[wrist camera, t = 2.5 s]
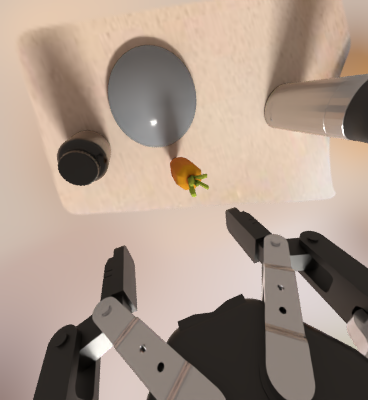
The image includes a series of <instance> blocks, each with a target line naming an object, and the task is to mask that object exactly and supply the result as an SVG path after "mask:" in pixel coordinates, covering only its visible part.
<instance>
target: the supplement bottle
mask: <svg viewBox="0 0 368 400" xmlns="http://www.w3.org/2000/svg"><path fill="white" fill-rule="evenodd" d="M110 155H111V149H110V145H109V143H108V141H107V140H106V139H105V138H104V137H103V136H102V135H101V134H99V133H97V132H94V131H89V130H85V131H81V132H78V133H76V134H75V135H74V136H72V137H71V138H69V139H68V140H67V141H65V142H64V143H63V144H62V145H61V146H60V148H59V150H58V153H57V161H58V170H59V173H60V174H61V176H62V177H63V178H64V179H65V180H66V181H68V182H69V183H72V184H73V185H80V186H82V185H84V186H85V185H89V184H91V183H92V182H94V181H97V180H99V179H100V178H102V177H103V176H104V175H105V173H106V171H107V169H108V165H109V160H110Z"/></svg>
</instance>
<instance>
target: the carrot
mask: <svg viewBox="0 0 368 400" xmlns="http://www.w3.org/2000/svg"><path fill="white" fill-rule="evenodd" d="M170 167H171V174H172V177H173V179H174V181H175V182H176V184H177V185H179V186H180V187H182V188H183V189H185V190H188V189H189V191H190V193H191V196H192V197H195V196H196V192H195V189H194V188H196V186H199V185H201V186H202V187H204V188H205V189H209V186H208V185H206V184H204V183H202V182H201V179H204V178H207V174H203V175H201V170H200V169H199V168H198V167H197V166H196V165H194V164H193V163H192V162H191V161H189V160H188V159H186V158H183V157H178V158H174V159H173V160H172V161H171V163H170Z"/></svg>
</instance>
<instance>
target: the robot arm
mask: <svg viewBox="0 0 368 400" xmlns="http://www.w3.org/2000/svg"><path fill="white" fill-rule="evenodd" d="M265 119H266V122H267V124H268V125H269V126H271V127H273V128H278V129H284V130H290V131H296V132H302V133H309V134H315V135H321V136H328V137H335V138H341V139H347V140H353V141H360V142H365V143H368V74H363V75H355V76H347V77H338V78H330V79H321V80H313V81H304V82H295V83H287V84H282V85H280V86H278V87H277V88H276V89H275V90H274V91H273V92H272V93H271V95H270V96H269V98H268V100H267V102H266V106H265ZM226 224H227V228H228V231H229V232H230V234H231V235H232V236H233V237H234V239H235V240H236V241H237V242H238V244H239V245H240V246H241V247H242V248H243V250H244V251H245V252H246V253H247V255H248V256H249V257H250V258H251V260H252V261H253V262H254V263H257V262H259V261H260V262H261V263H262V295H261V300H257V299H245V298H244V296H243V295H242V294H241V295H238V296H236V297H234V298H232V299H229V300H227V301H226V302H224V303H223V304H222V305H221V306H220V307H218V308H217V309H216V310H215V311H214V312H211V313H203V314H195V315H192V316H190V317H188V318H185V319H183V320H181V321H178V325H179V328H178V329H177V330H175V331H174V333H173V334H172V335H171V336H170V338H169V339H168V341H167V343H166V342H165V341H164V340H163V339H161V338H160V337H159V336H158V335H157V334H156V333H155V332H154V331H153V330H152V329H150V328H149V327H148V326H147V325H146V324H145V323H144V322H143V321H141V320H140V319H139V318H138V317H135V316H134V315H133V314H132V313H133V312H135V311H137V298H136V279H135V265H134V261H133V259H132V257H131V255H130V253H129V251H128V249H127V248H126V246H121V247H119V248H116V249H114V256H113V257H112V258H109V259H108V261H107V263H106V265H105V270H104V279H103V287H102V293H101V301H100V302H99V303H98V304H97V306H96V307H95V309H94V311H93V314H92V315H91V316H90V317H89V318H88V319H86V320H85V321H83V322H82V323H80V324H79V325H78V326H74V325H66V326H64V327H62V328H61V329H60V330H58V331H57V332H56V333H55V334H54V336H53V337H52V338H51V340H50V342H49V344H48V347H47V350H46V354H45V358H44V361H43V365H42V369H41V373H40V376H39V380H38V383H37V387H36V391H35V394H34V398H33V400H98V399H99V379H100V359H101V356H102V355H103V354H104V353H105V352H107V351H108V350H109V349H110V348H111V347H113V346H114V348H115V349H116V351H117V352H118V353H119V354H120V355H121V357H122V358H123V359H124V360H125V362H126V363H127V364H128V365H129V366H130V368H131V369H132V370H133V371H134V372H135V373H136V375H137V376H138V377H139V379H140V380H141V381H142V382H143V383H144V385H145V386H146V387H147V388H148V390H149V394H148V397H147V400H368V268H366V267H365V266H364V265H362V264H361V263H360V262H358V261H357V260H356V259H354V258H353V257H351V256H350V255H349V254H347V253H346V252H345V251H343V250H342V249H341V248H339V247H338V246H336V245H335V244H334V243H332V242H331V241H330V240H328V239H327V238H325V237H324V236H323V235H321V234H319V233H317V232H314V231H305V232H302V233H301V234H300V237H299V238H292V239H285V238H284V237H282V236H280V235H276V234H272V233H270V232H269V231H268V230H267V229H266V228H265V227H264V226H263V225H261V224H260V223H259V222H258V221H257V220H256V219H254V217H252V216H251V215H250V214H249V213H246V212H244V211H243V212H240V211H239V210H238V209H237V208H235V207H234V208H231V209H228V210H226ZM295 271H298V272H299V273H300V274H301V275H302V276H303V277H304V278H305V279H306V280H307V282H308V283H309V284H310V285H311V286H312V287H313V288H314V289H315V290H316V291H317V292H318V293H319V294H320V295H321V297H322V298H323V299H324V300H325V301H326V302H327V303H328V304H329V305H330V306H331V307H332V308H333V309H334V310H335V312H336V313H337V314H338V315H339V316H340V317H341V318H342V319H343V320H344V321H345V322H346V323H347V332H348V334H349V336H350V338H351V339H352V340H353V343H354V344H355V345H356V346H357V348H358V351H357V350H356V349H354V348H352V347H351V346H348V345H347V344H345V343H343V342H341V341H339V340H337V339H335V338H333V337H331V336H329V335H327V334H326V333H324V332H322V331H320V330H318V329H316V328H314V327H312V326H310V325H308V324H306V323H304V322H303V320H302V313H301V307H300V301H299V295H298V288H297V282H296V276H295Z"/></svg>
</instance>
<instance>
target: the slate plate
mask: <svg viewBox="0 0 368 400" xmlns="http://www.w3.org/2000/svg"><path fill="white" fill-rule="evenodd" d="M108 100H109V105H110V109H111V112H112V114H113V117H114V119H115V121H116V122H117V124H118V126H119V127H120V128H121V130H122V131H123V132H124V133H125V134H126V135H127V136H128V137H130V138H131V139H132V140H134V141H136V142H137V143H140V144H142V145H145V146H149V147H163V146H167V145H170V144H172V143H174V142H176V141H177V140H179V139H180V138H181V137H182V136H183V135H184V134H185V133H186V132H187V130H188V129H189V127H190V125H191V123H192V121H193V118H194V115H195V110H196V91H195V86H194V83H193V80H192V77H191V75H190V73H189V71H188V70H187V68H186V66H185V65H184V64H183V62H182V61H181V60H180V59H179V58H178V57H177V56H175V55H174V54H173V53H171V52H170V51H168V50H166V49H164V48H161V47H158V46H153V45H144V46H139V47H135V48H133V49H131V50H129V51H128V52H126V53H125V54H123V55H122V57H121V58H120V59H119V60H118V61H117V63H116V64H115V66H114V68H113V70H112V72H111V75H110V78H109V84H108Z"/></svg>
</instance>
